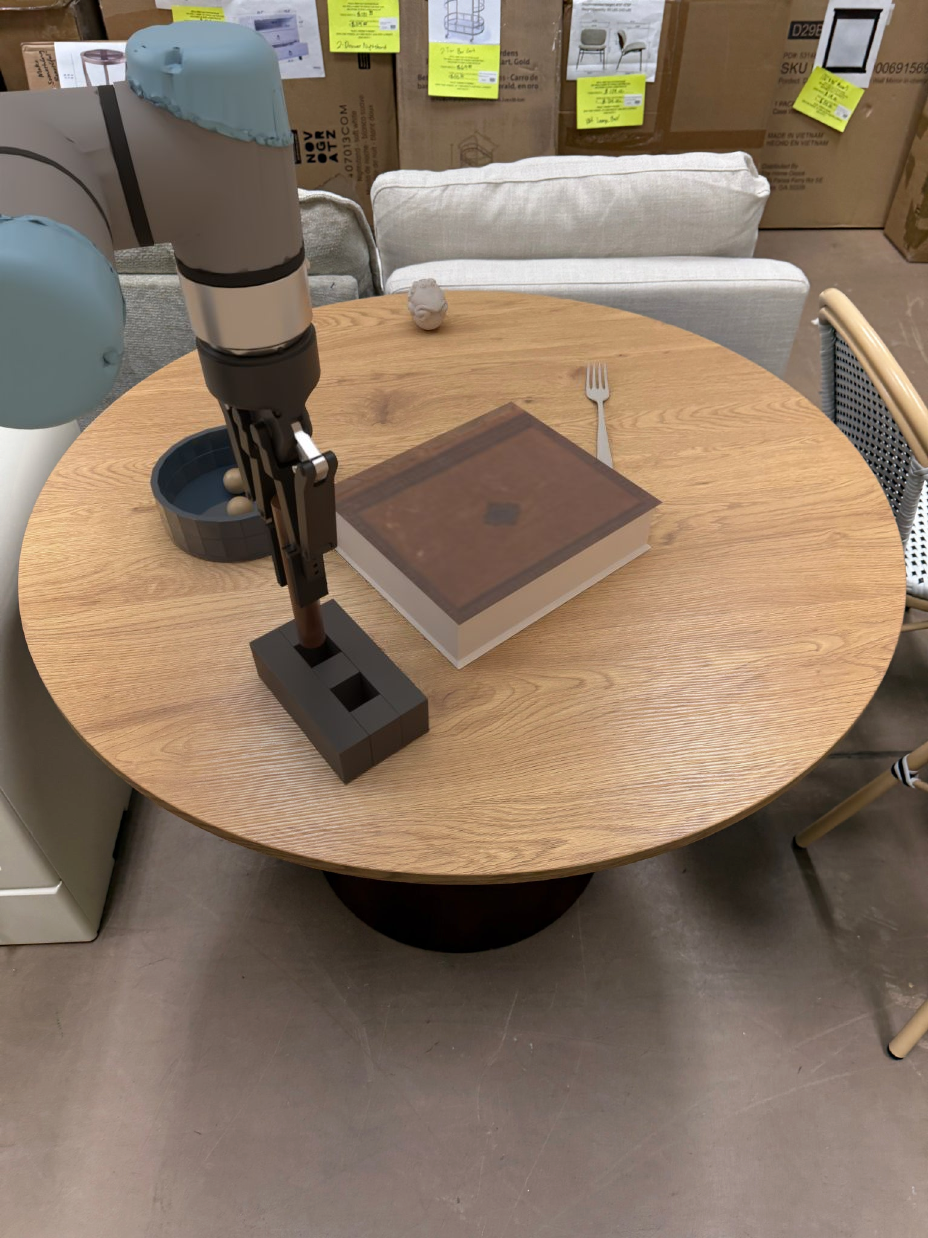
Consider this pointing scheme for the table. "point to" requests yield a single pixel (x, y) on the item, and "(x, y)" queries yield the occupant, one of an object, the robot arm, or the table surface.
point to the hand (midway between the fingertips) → (302, 587)
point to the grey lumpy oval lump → (427, 303)
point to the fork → (600, 413)
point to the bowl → (205, 500)
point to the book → (488, 528)
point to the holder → (342, 692)
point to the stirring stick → (306, 617)
